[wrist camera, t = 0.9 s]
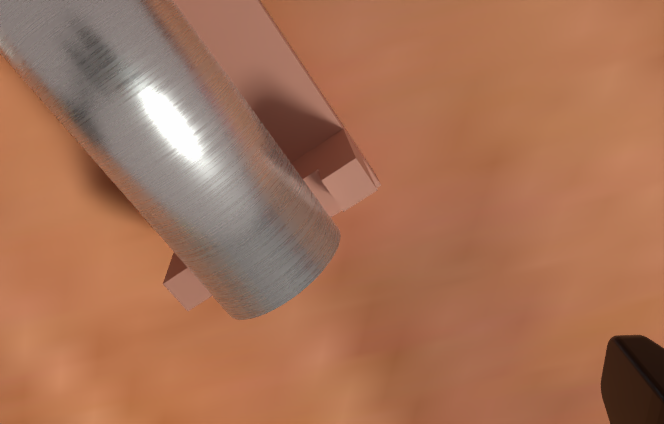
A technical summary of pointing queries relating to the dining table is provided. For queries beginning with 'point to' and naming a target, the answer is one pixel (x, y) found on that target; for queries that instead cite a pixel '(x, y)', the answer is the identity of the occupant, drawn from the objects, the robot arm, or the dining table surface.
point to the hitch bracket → (276, 113)
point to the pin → (175, 142)
